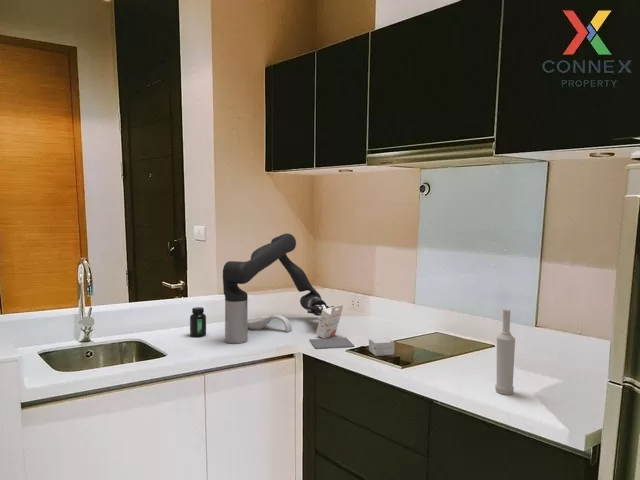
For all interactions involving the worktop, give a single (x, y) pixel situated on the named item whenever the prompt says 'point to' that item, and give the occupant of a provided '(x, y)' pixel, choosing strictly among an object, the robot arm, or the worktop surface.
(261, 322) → the grey arched piece
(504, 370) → the bottle
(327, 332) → the ink cartridge box
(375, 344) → the small box
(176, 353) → the worktop surface
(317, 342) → the mat
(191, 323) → the supplement bottle
